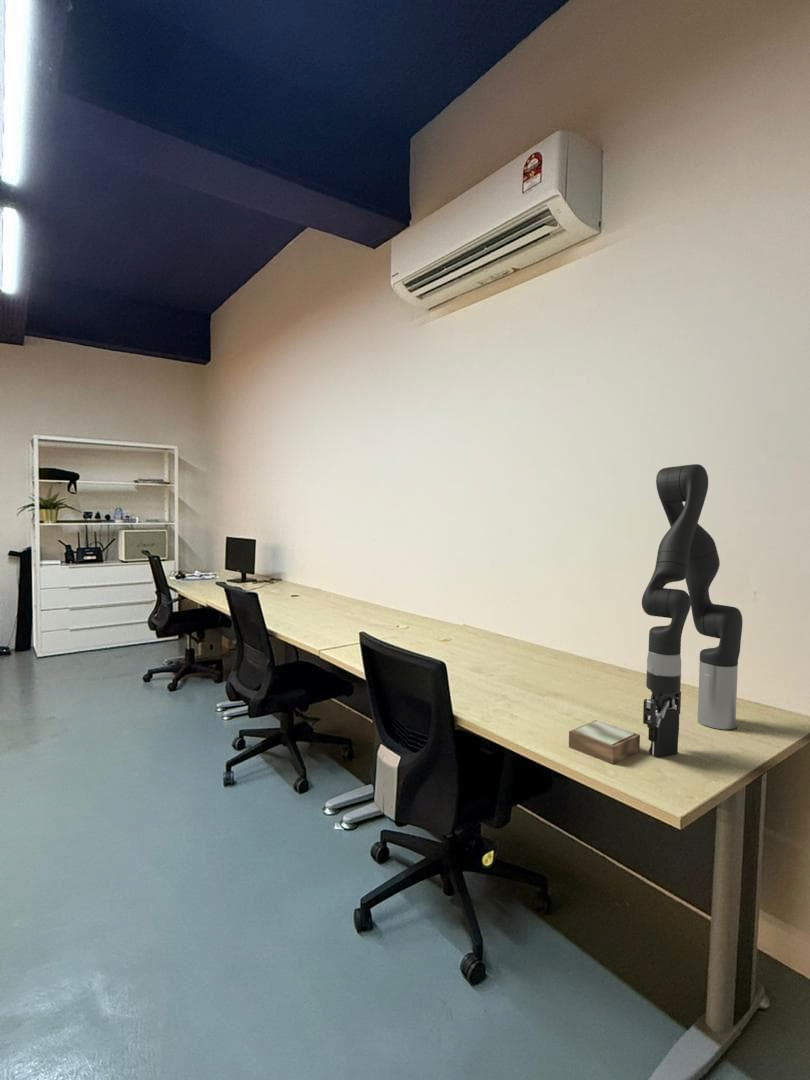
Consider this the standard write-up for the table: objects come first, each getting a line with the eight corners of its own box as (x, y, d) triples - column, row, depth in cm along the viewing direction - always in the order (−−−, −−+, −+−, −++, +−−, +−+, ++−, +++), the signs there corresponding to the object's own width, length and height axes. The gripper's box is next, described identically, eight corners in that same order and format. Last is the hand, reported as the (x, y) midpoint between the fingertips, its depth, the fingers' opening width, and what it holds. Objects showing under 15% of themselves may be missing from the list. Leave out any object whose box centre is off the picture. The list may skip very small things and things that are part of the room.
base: (595, 735, 145) (596, 719, 145) (639, 750, 135) (639, 733, 135) (568, 747, 137) (569, 730, 137) (612, 764, 128) (613, 746, 128)
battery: (667, 748, 137) (669, 703, 136) (679, 754, 133) (680, 708, 133) (643, 751, 135) (645, 705, 135) (655, 758, 131) (656, 711, 131)
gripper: (662, 662, 141) (660, 725, 141) (633, 671, 132) (631, 739, 132) (693, 668, 135) (690, 735, 136) (664, 679, 126) (662, 750, 127)
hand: (661, 737), depth 134 cm, fingers closed on battery, 7 cm apart
